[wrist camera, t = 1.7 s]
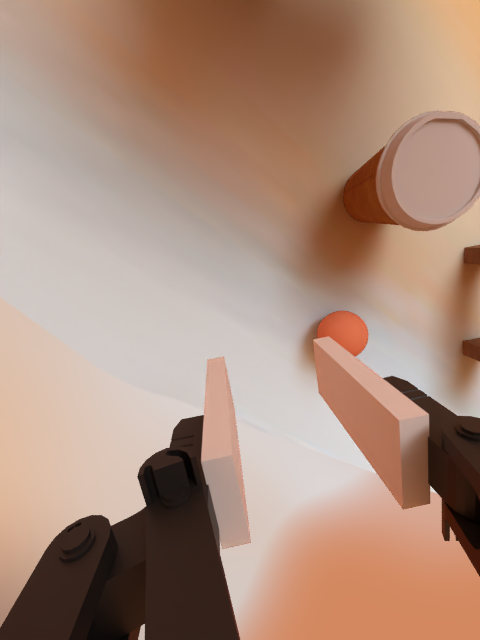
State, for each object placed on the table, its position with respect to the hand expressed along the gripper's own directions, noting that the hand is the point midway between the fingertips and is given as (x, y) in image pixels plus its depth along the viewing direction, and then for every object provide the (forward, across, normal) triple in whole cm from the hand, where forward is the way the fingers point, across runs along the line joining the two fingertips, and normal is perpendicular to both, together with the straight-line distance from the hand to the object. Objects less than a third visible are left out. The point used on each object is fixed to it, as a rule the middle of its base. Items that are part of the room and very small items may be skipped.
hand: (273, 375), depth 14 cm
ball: (+22, +12, -7) cm, 26 cm away
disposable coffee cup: (+25, +18, +9) cm, 32 cm away
